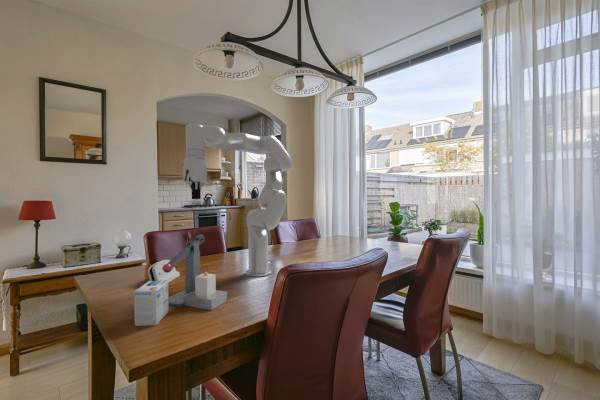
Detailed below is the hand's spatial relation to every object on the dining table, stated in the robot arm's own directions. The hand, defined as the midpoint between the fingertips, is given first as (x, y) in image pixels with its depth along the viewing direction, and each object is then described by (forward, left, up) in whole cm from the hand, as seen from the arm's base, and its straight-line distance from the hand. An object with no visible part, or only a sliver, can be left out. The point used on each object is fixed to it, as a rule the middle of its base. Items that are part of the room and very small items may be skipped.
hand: (196, 198), depth 125 cm
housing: (+13, +14, -34) cm, 39 cm away
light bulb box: (+30, +7, -37) cm, 48 cm away
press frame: (+12, +10, -37) cm, 40 cm away
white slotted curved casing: (-4, -21, -38) cm, 43 cm away
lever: (+9, +2, -22) cm, 24 cm away
